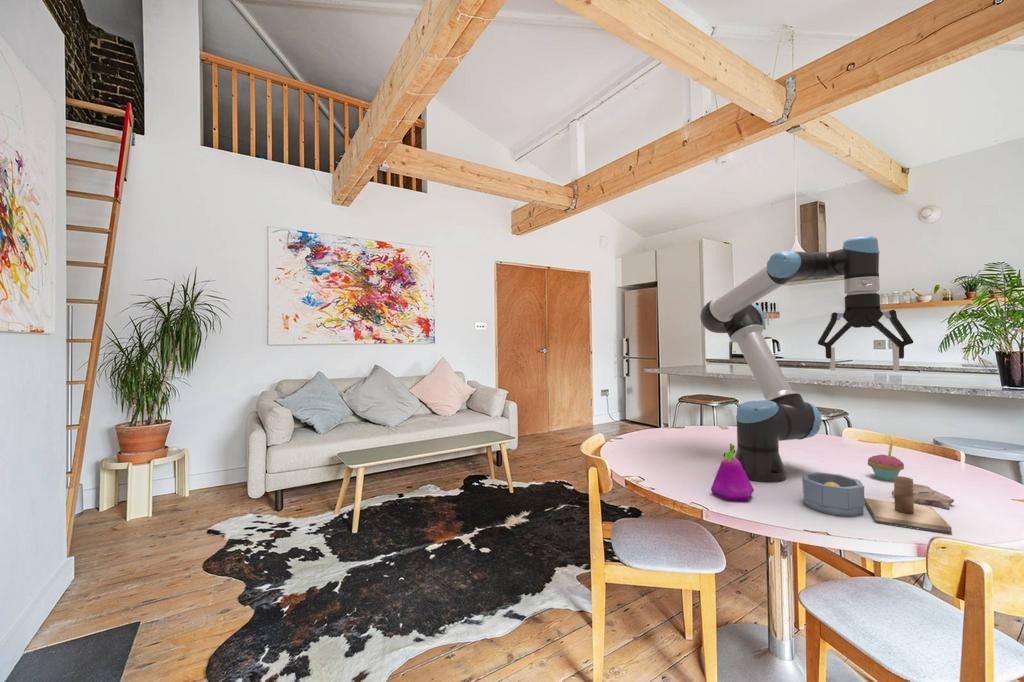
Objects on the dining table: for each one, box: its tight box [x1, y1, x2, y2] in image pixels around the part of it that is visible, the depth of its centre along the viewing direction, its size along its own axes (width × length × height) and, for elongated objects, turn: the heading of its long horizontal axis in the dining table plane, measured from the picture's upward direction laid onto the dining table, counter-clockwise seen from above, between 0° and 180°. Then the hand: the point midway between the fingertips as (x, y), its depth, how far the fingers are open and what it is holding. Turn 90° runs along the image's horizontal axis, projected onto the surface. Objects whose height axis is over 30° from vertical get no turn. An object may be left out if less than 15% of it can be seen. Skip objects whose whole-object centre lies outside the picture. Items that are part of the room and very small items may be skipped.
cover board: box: [864, 475, 952, 532], centre depth 103 cm, size 13×13×9 cm
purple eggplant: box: [710, 443, 755, 502], centre depth 120 cm, size 11×11×15 cm
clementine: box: [824, 482, 839, 486], centre depth 111 cm, size 4×4×4 cm
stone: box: [891, 482, 955, 510], centre depth 115 cm, size 12×12×3 cm
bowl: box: [801, 471, 866, 518], centre depth 111 cm, size 12×12×7 cm
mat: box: [864, 502, 953, 535], centre depth 103 cm, size 13×13×1 cm
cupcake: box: [867, 440, 905, 482], centre depth 131 cm, size 9×8×12 cm
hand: (863, 370), depth 117 cm, fingers open, 13 cm apart
